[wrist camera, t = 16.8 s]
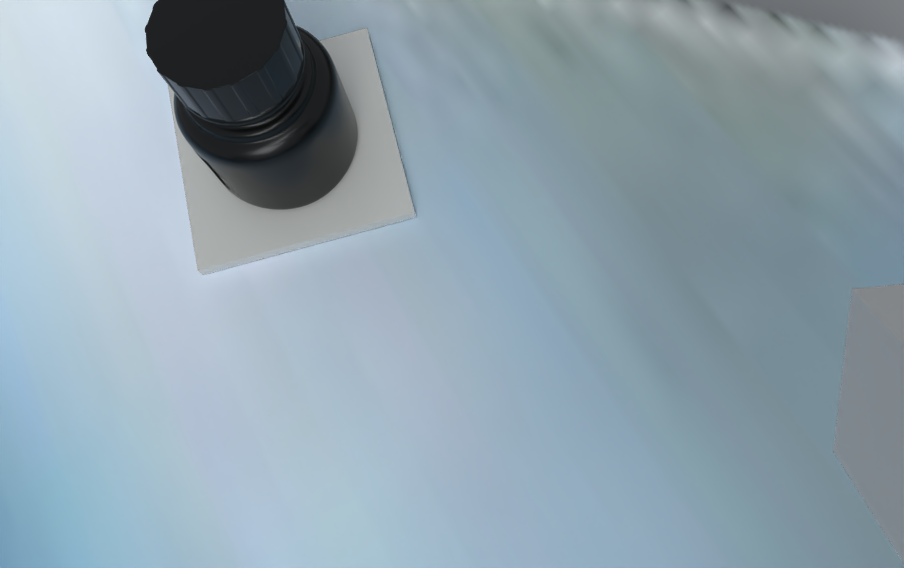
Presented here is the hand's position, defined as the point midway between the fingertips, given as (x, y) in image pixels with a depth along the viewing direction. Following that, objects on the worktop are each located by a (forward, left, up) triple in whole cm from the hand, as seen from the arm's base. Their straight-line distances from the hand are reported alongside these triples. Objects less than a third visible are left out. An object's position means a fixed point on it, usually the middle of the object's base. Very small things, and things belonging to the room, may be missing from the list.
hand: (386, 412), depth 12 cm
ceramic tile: (+6, -24, -33) cm, 41 cm away
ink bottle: (+6, -24, -32) cm, 40 cm away
